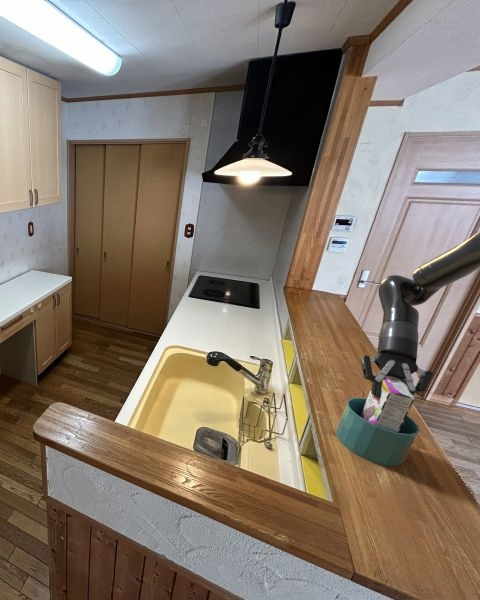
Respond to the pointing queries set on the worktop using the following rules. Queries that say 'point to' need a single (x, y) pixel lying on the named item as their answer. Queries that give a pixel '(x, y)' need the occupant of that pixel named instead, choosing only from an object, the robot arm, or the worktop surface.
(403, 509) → the worktop surface
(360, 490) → the worktop surface
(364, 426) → the bucket
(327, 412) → the worktop surface
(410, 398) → the candy bar box
